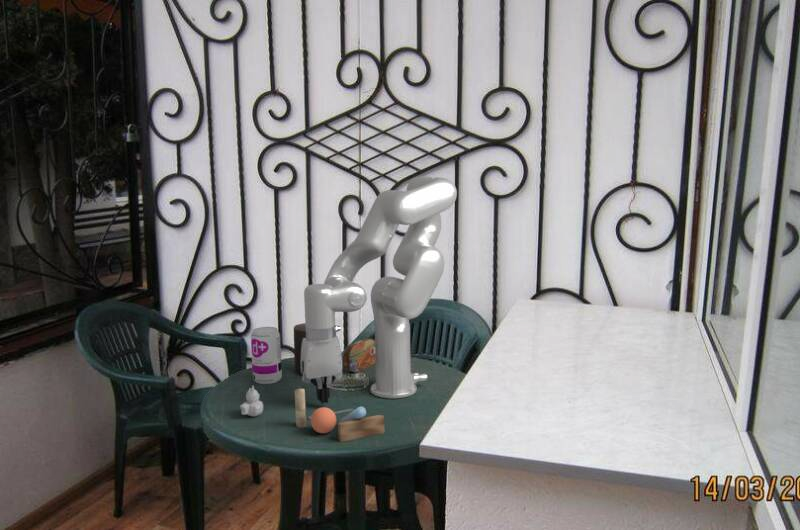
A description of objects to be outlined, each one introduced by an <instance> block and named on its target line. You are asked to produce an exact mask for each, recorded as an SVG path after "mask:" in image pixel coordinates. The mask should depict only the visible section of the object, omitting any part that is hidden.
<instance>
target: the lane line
mask: <svg viewBox="0 0 800 530" xmlns="http://www.w3.org/2000/svg"><path fill="white" fill-rule="evenodd" d="M354 410H355V409H354V408H347V409H342V410H337V411H333V412H334V413H335V415H337V414H338V415H339V414H344V413H347V412H349V413H350V412H352V411H354ZM311 416H312V415H310V416H307V419H308V420H311Z"/></svg>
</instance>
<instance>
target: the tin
mask: <svg viewBox="0 0 800 530" xmlns="http://www.w3.org/2000/svg"><path fill="white" fill-rule="evenodd" d="M342 363H343V366H344V369H345V371H348V373H349V372H352V373H355V374H356V373H357V372H358V373H359V372H361V371H364V370H366V369H367V368H369V367H372V366H373V365H375V364H376V360H375V338H363V339H360V340H358V341H356V342H354V343H351V344H349V345H347V347H346V348H345V349H344V352H343V355H342Z"/></svg>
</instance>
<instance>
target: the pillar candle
mask: <svg viewBox="0 0 800 530" xmlns="http://www.w3.org/2000/svg"><path fill="white" fill-rule="evenodd" d="M303 338H306V325H305V322H304V323H297V324H295V325H294V326H293V354H294V355H293V356H294V357H293V358H294V373H296V374H297V375H300V376H303V374H302V373H301V347H302V341H303Z"/></svg>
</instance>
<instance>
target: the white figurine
mask: <svg viewBox="0 0 800 530" xmlns="http://www.w3.org/2000/svg"><path fill="white" fill-rule="evenodd" d="M260 395H261V394H260V393H259V392H258V391H257V389H255V388H254V385H252V387H249V389H248V390H247V391H246V393H245V399H246V401H244V402H243V403H242V404H240V405H239V408H240V410H241V411H240V412H241V415H243V416H244V415H245V416H246V415H247V416H250V417H257V416H260V415H261V414H262V413H263V412H264V411H263V410H264V403H263V402H262V401H261V400H260Z"/></svg>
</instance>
